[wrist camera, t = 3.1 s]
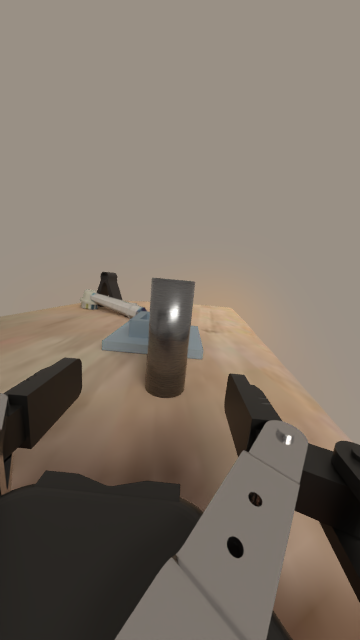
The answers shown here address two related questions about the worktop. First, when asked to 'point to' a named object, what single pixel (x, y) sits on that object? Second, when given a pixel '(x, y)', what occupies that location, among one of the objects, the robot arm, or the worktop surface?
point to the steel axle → (168, 336)
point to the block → (145, 337)
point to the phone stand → (109, 286)
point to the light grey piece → (109, 303)
